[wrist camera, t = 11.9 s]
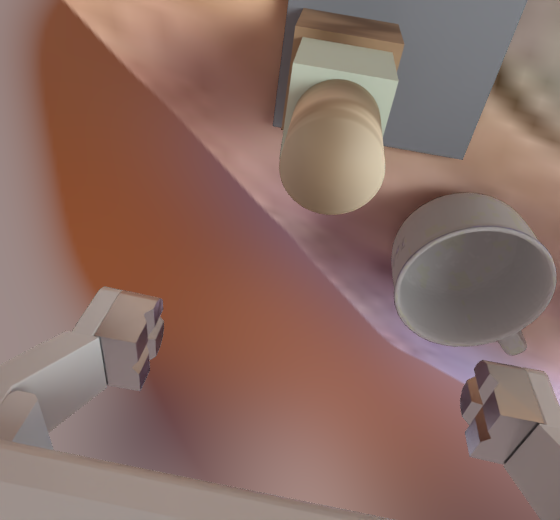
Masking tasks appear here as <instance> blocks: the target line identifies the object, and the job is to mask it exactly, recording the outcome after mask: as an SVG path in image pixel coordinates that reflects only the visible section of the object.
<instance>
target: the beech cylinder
mask: <svg viewBox="0 0 560 520" xmlns="http://www.w3.org/2000/svg"><path fill="white" fill-rule="evenodd" d="M279 171H280V177H281V181H282V183H283V186H284V188H285V189H286V191H287V193H288V194H289V195H290V196H291V198H292V199H293V200H294V201H296V202H297V203H298V204H299V205H301V206H302V207H304V208H306V209H308V210H310V211H313V212H316V213H320V214H326V215H338V214H345V213H349V212H352V211H354V210H356V209H359V208H360V207H362V206H364V205H365V204H366V203H368V202H369V201H370V200H371V199H372V198H373V197H374V196H375V195H376V193H377V192H378V190H379V189H380V187H381V185H382V182H383V179H384V175H385V156H384V146H383V136H382V127H381V117H380V111H379V108H378V105H377V103H376V101H375V99H374V98H373V96H372V95H371V94H370V93H369V92H368V91H367V90H366V89H365V88H364V87H362V86H361V85H359V84H357V83H355V82H352V81H349V80H344V79H331V80H326V81H322V82H320V83H318V84H315V85H314V86H312V87H311V88H309V89H308V90H307V91H306V92H305V93H304V94H303V95H302V96H301V97H300V99H299V100H298V102H297V104H296V106H295V109H294V112H293V115H292V118H291V122H290V125H289V129H288V132H287V136H286V139H285V143H284V146H283V149H282V153H281V157H280V163H279Z"/></svg>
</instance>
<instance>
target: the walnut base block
mask: <svg viewBox="0 0 560 520" xmlns="http://www.w3.org/2000/svg"><path fill="white" fill-rule="evenodd" d="M302 37H306V38H312V39H317V40H323V41H329V42H335V43H341V44H346V45H352V46H358V47H364V48H370V49H375V50H381V51H387V52H393V57H394V62H395V66H396V71H397V70H398V66H399V63H400V59H401V55H402V52H403V48H404V45H405V44H404V41H403V38H402V35H401V31H400V28H399V25H398V24H395V23H389V22H383V21H377V20H371V19H366V18H360V17H354V16H348V15H342V14H336V13H331V12H325V11H319V10H313V9H307V8H303V10H302V12H301V15H300V17H299V19H298V21H297V23H296V25H295V32H294V39H293V47H292V54H291V61H290V69H289V76H288V83H287V90H286V98H285V105H284V112H283V120H282V127H281V130H284V123H285V116H286V109H287V102H288V95H289V87H290V80H291V73H292V66H293V61H294V59H295V56H296V53H297V51H298V48H299V45H300V43H301V40H302Z"/></svg>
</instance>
